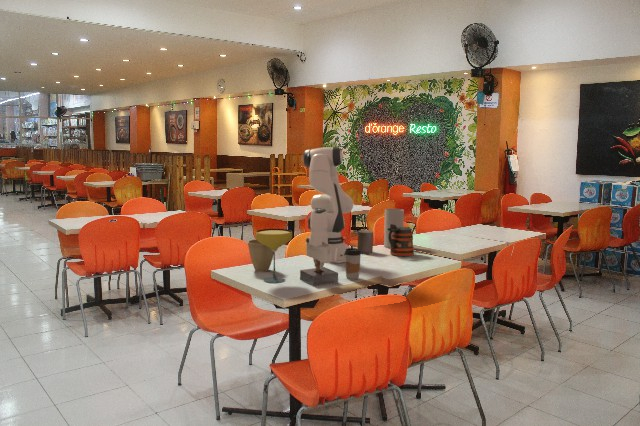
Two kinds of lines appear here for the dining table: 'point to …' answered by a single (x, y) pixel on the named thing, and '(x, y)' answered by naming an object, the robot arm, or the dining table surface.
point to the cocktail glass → (274, 245)
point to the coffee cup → (352, 263)
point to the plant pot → (260, 255)
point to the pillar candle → (365, 241)
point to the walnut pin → (318, 266)
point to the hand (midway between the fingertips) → (319, 268)
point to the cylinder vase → (392, 222)
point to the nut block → (318, 276)
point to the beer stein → (401, 241)
